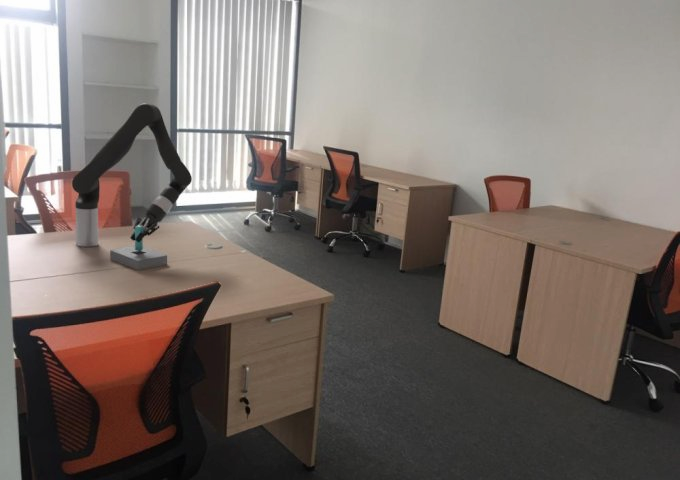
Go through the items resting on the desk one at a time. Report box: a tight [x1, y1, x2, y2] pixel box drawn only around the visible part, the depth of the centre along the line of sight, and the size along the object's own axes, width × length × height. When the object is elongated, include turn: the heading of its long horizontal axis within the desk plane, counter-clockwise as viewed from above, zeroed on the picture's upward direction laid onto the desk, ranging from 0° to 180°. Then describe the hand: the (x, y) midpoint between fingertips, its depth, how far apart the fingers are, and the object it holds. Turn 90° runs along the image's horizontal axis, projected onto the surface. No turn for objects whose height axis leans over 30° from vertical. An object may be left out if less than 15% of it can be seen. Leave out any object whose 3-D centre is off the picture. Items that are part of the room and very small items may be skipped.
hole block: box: [109, 245, 168, 271], centre depth 248 cm, size 20×14×4 cm
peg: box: [134, 225, 144, 251], centre depth 246 cm, size 3×3×10 cm
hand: (134, 240), depth 245 cm, fingers closed on peg, 3 cm apart
